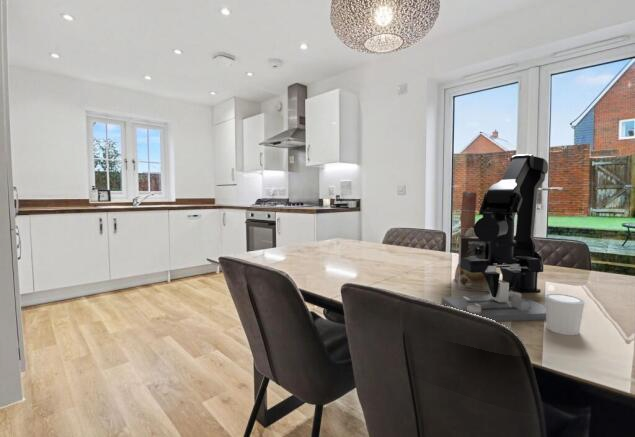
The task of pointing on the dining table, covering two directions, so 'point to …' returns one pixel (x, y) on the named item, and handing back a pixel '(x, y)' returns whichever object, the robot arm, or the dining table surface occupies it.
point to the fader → (502, 292)
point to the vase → (467, 216)
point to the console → (499, 307)
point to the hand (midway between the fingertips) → (499, 296)
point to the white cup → (563, 313)
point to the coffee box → (465, 277)
